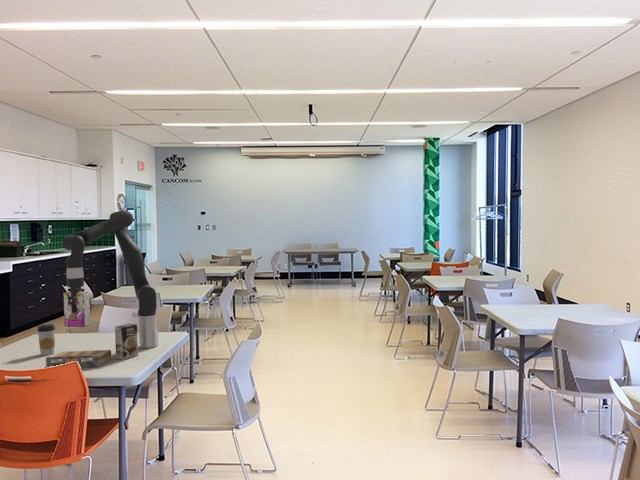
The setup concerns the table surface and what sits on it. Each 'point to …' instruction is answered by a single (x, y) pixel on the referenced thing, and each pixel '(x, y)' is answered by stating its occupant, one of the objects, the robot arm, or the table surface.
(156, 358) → the table surface
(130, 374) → the table surface
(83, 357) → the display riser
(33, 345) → the table surface
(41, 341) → the coffee cup
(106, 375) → the table surface
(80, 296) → the candy bar box
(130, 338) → the coffee box
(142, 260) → the robot arm
